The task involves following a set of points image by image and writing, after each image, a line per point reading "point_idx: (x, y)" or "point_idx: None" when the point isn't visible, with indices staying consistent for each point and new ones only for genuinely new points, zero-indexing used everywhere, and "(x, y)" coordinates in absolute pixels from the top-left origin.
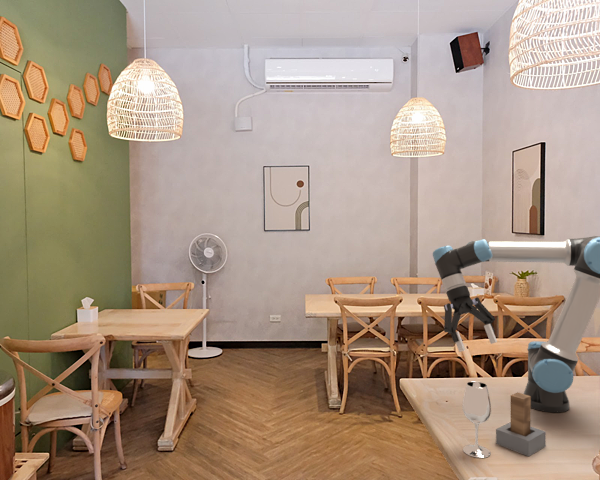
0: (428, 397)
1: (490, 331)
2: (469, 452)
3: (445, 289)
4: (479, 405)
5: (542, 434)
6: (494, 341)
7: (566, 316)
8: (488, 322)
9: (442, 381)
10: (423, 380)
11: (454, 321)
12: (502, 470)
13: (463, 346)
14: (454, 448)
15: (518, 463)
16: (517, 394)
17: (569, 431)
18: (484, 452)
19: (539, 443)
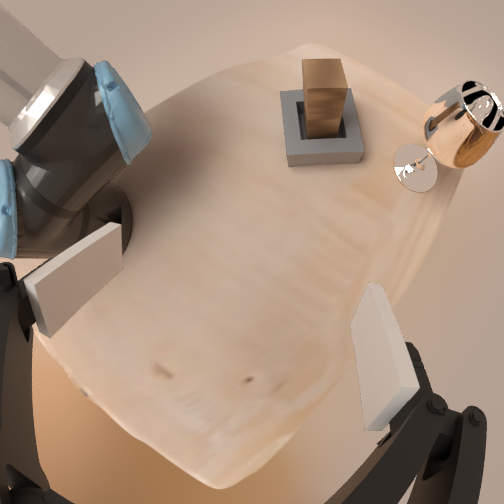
0: (266, 416)
1: (75, 264)
2: (433, 170)
3: None
4: (474, 106)
5: (293, 91)
6: (117, 234)
7: None
8: (18, 297)
9: (160, 439)
10: (191, 467)
11: (396, 495)
12: (421, 110)
13: (379, 297)
14: (439, 202)
15: (382, 103)
16: (323, 81)
17: (182, 123)
18: (412, 151)
19: None
